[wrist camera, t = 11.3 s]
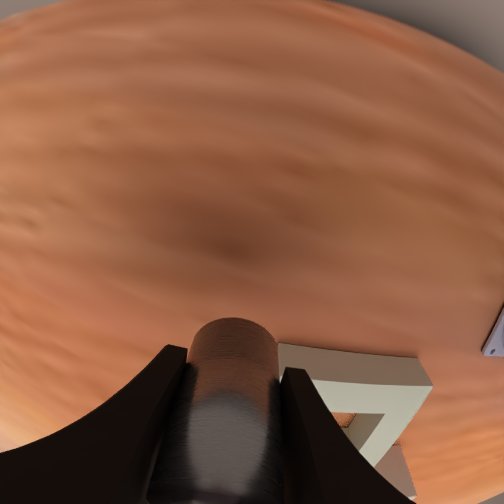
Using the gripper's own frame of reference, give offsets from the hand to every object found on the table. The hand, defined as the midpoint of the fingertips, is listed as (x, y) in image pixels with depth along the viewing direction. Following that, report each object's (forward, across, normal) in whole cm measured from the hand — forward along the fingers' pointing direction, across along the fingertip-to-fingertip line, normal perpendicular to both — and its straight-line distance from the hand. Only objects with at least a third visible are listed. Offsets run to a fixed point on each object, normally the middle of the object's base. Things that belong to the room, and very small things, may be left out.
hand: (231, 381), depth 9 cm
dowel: (+1, 0, 0) cm, 1 cm away
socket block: (+8, -8, +9) cm, 15 cm away
